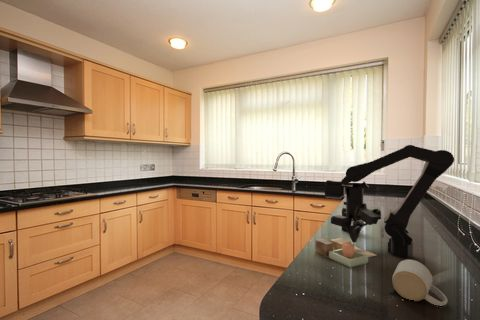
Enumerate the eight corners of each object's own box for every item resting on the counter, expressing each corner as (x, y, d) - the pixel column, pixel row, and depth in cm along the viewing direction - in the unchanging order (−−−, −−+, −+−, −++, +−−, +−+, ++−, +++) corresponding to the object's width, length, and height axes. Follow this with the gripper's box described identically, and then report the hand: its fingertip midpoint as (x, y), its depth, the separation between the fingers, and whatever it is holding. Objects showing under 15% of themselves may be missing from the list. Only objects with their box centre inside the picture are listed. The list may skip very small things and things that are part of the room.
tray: (368, 262, 76) (368, 256, 76) (350, 267, 72) (350, 260, 72) (346, 253, 83) (346, 247, 83) (329, 257, 79) (329, 251, 79)
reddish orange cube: (356, 259, 77) (356, 245, 77) (349, 261, 75) (349, 247, 75) (347, 255, 80) (347, 242, 80) (339, 257, 78) (339, 243, 78)
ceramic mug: (390, 296, 60) (391, 265, 60) (396, 283, 66) (397, 255, 66) (446, 315, 53) (447, 280, 53) (447, 299, 59) (448, 268, 59)
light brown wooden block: (351, 250, 86) (351, 242, 86) (341, 253, 84) (341, 244, 84) (339, 246, 90) (339, 238, 90) (330, 248, 88) (330, 239, 88)
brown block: (333, 255, 82) (333, 243, 82) (326, 256, 80) (326, 244, 80) (321, 249, 86) (321, 238, 86) (315, 251, 85) (315, 239, 85)
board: (377, 259, 82) (377, 255, 82) (342, 269, 75) (342, 264, 75) (347, 247, 93) (347, 243, 93) (314, 255, 85) (314, 250, 85)
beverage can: (343, 230, 115) (344, 205, 115) (358, 233, 111) (359, 207, 111) (339, 233, 110) (339, 207, 110) (355, 236, 106) (355, 209, 106)
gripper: (356, 205, 79) (356, 254, 79) (392, 201, 87) (391, 245, 87) (329, 200, 89) (329, 243, 89) (363, 197, 97) (363, 236, 97)
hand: (354, 242), depth 90 cm, fingers closed
